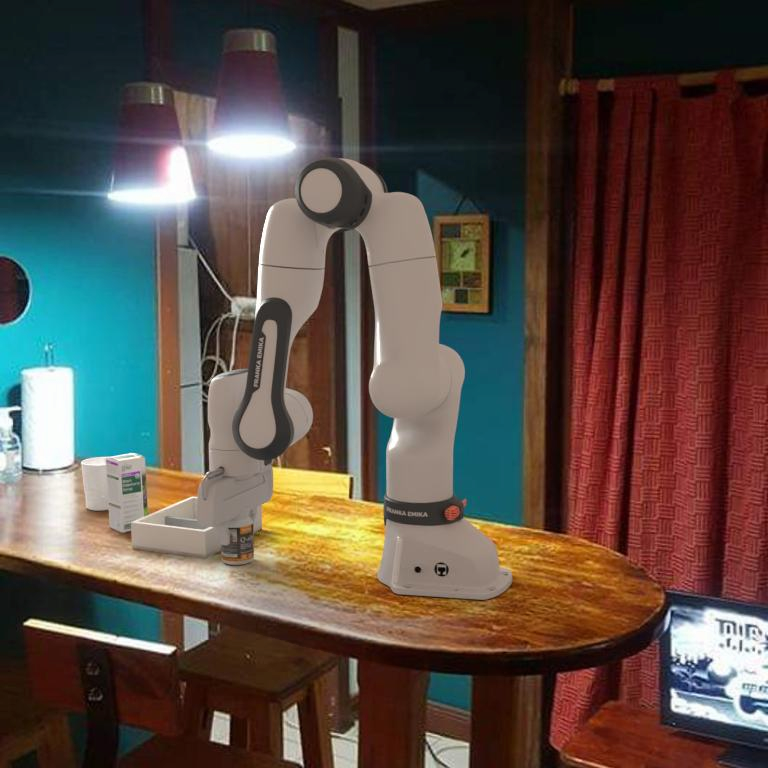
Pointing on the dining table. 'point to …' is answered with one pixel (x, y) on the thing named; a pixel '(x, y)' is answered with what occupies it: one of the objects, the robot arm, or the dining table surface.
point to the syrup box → (126, 490)
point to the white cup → (95, 483)
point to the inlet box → (179, 531)
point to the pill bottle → (240, 540)
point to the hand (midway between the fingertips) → (237, 538)
